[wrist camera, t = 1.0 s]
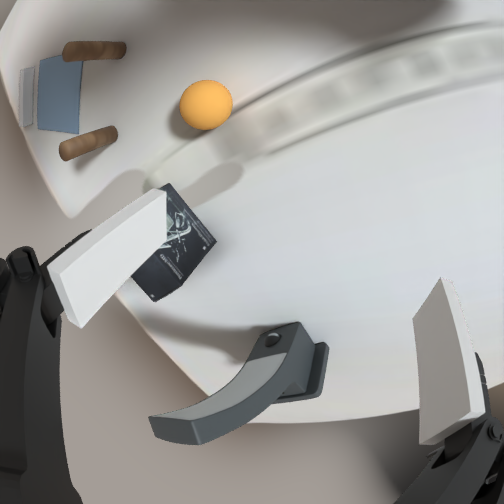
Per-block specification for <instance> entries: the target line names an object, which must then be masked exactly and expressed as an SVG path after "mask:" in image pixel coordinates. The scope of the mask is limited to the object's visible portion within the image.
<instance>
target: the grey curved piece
mask: <svg viewBox="0 0 504 504" xmlns="http://www.w3.org/2000/svg"><path fill="white" fill-rule="evenodd" d="M328 354H329V347H328V345H327V344H326V343H319V344H316V345H315V344H314V343H313V341H312V340H311V338H310V336H309V335H308V333H307V332H306V330H305V329H304V327H303V326H302V324H301V323H300V322H298V323H294V324H290V325H287V326H283V327H280V328H277V329H274V330H271V331H269V332H266V333H264V334H262V335H260V337H259V339H258V340H257V342H256V344H255V346H254V348H253V350H252V352H251V353H250V355H249V357H248V359H247V361H246V362H245V364H244V365H243V367H242V368H241V370H240V371H239V372H238V374H237V375H236V376H235V377H234V378H233V379H232V380H231V381H230V382H229V383H228V384H227V385H226V386H224V387H223V388H222V389H220V390H219V391H218V392H216V393H214V394H213V395H211V396H209V397H208V398H206V399H204V400H203V401H200V402H199V403H196V404H194V405H192V406H189V407H187V408H183V409H180V410H176V411H172V412H169V413H164V414H160V415H154V416H149V417H148V418H149V421H150V424H151V426H152V429H153V432H154V435H155V436H156V437H157V438H160V439H162V440H165V441H169V442H174V443H179V444H187V445H202V444H204V443H207V442H209V441H212V440H214V439H216V438H218V437H220V436H223V435H225V434H227V433H229V432H231V431H233V430H235V429H237V428H239V427H241V426H242V425H244V424H246V423H247V422H249V421H250V420H252V419H253V418H255V417H256V416H257V415H259V414H260V413H261V412H263V411H264V410H265V409H266V408H268V407H269V406H270V405H271V404H277V403H285V402H293V401H300V400H306V399H312V398H316V397H319V396H320V395H321V393H322V389H323V383H324V378H325V372H326V366H327V360H328Z"/></svg>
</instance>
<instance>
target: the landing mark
mask: <svg viewBox="0 0 504 504" xmlns="http://www.w3.org/2000/svg"><path fill="white" fill-rule="evenodd" d="M82 65H83V61H75V62H64V61H63V58H62V55H60V56H56V57H52V58H48V59H44V60H40V67H39V80H38V103H37V122H38V129H42V130H51V131H59V132H67V133H75V134H79V101H80V86H81V74H82Z"/></svg>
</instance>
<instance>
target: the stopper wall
mask: <svg viewBox="0 0 504 504" xmlns="http://www.w3.org/2000/svg"><path fill="white" fill-rule="evenodd" d="M34 69H35V67H30V68H25V69H22V70H20V83H19V127H25V126H27V125H30V124H33V82H34Z"/></svg>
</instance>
